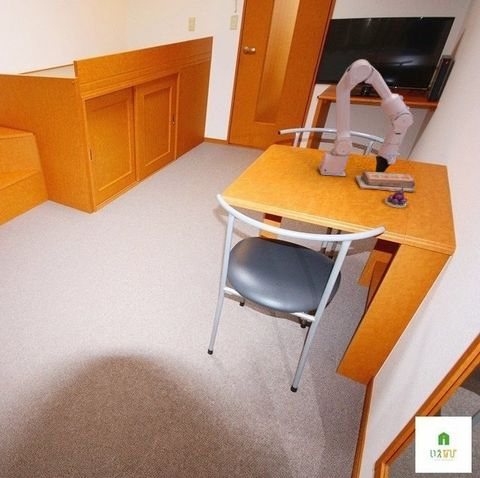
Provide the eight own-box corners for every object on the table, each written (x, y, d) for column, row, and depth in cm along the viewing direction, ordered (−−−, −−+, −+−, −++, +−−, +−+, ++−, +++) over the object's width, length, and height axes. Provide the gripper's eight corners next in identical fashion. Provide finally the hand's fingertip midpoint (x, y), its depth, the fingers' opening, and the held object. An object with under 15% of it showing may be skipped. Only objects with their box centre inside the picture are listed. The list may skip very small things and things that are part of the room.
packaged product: (410, 171, 128) (420, 181, 121) (405, 182, 131) (414, 193, 123) (358, 168, 133) (364, 177, 126) (354, 178, 136) (360, 189, 129)
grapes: (387, 206, 117) (395, 190, 113) (382, 198, 121) (389, 182, 118) (408, 208, 115) (417, 192, 111) (402, 200, 119) (410, 184, 116)
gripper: (410, 149, 121) (395, 181, 129) (398, 137, 132) (384, 168, 140) (388, 148, 123) (374, 180, 131) (377, 136, 134) (365, 166, 142)
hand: (378, 174), depth 135 cm, fingers closed
